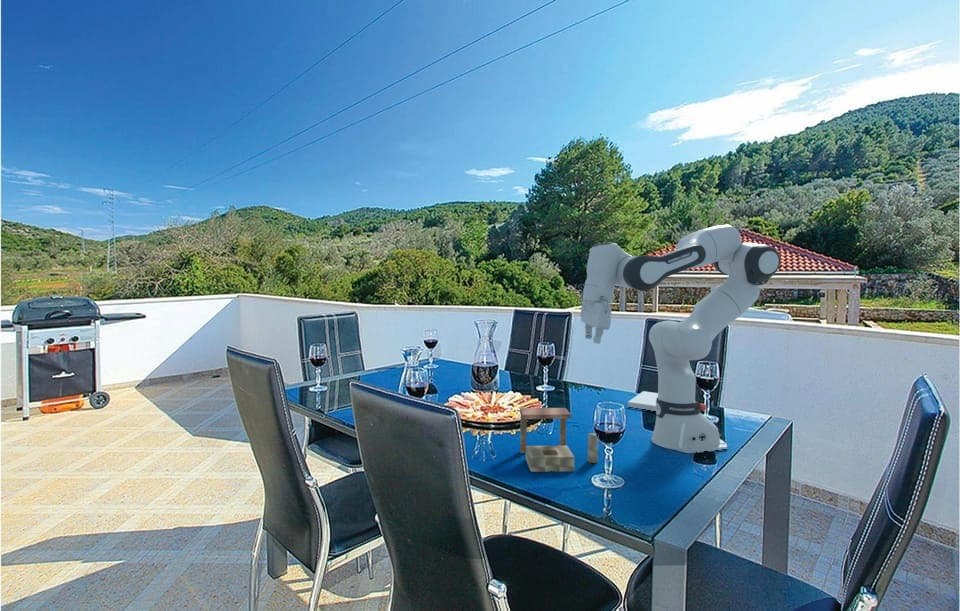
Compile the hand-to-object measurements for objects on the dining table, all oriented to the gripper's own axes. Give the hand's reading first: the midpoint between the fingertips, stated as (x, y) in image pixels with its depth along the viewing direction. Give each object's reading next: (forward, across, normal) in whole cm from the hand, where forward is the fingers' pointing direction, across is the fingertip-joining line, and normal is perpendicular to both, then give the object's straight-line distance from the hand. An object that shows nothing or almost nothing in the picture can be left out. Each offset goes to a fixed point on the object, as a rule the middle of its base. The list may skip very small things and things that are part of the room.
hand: (592, 340), depth 148 cm
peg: (+34, -10, -2) cm, 35 cm away
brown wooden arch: (+35, -5, +11) cm, 37 cm away
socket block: (+35, -13, +11) cm, 39 cm away
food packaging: (+31, +51, -44) cm, 74 cm away
